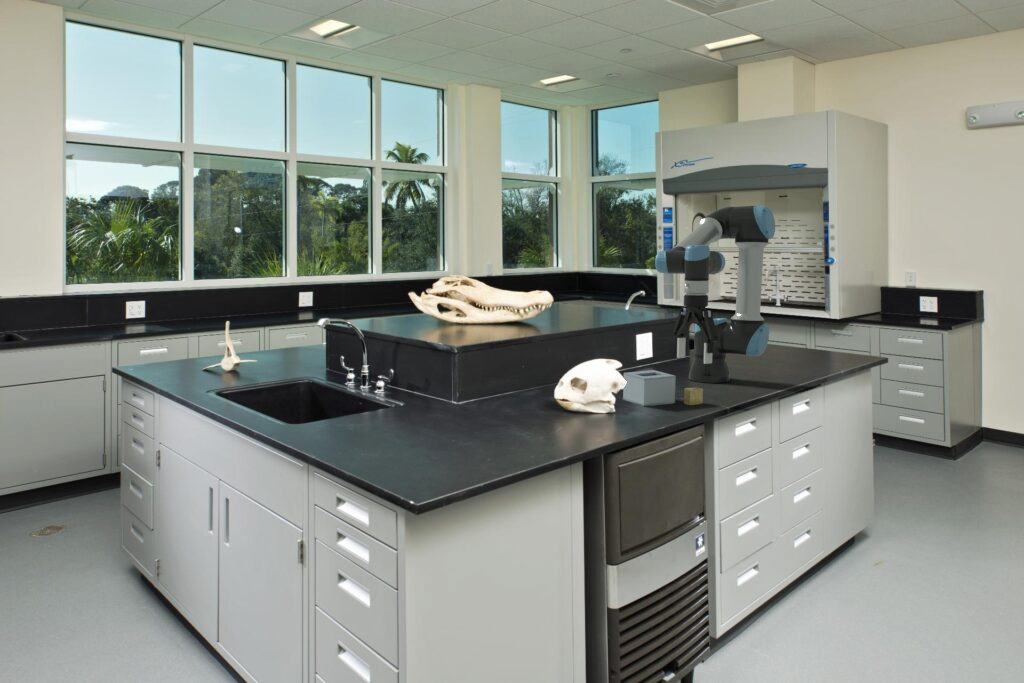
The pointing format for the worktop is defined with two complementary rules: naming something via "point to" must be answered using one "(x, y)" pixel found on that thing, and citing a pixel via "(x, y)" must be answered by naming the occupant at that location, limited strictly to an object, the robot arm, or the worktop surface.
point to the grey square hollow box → (649, 388)
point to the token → (693, 396)
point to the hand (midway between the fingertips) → (694, 360)
